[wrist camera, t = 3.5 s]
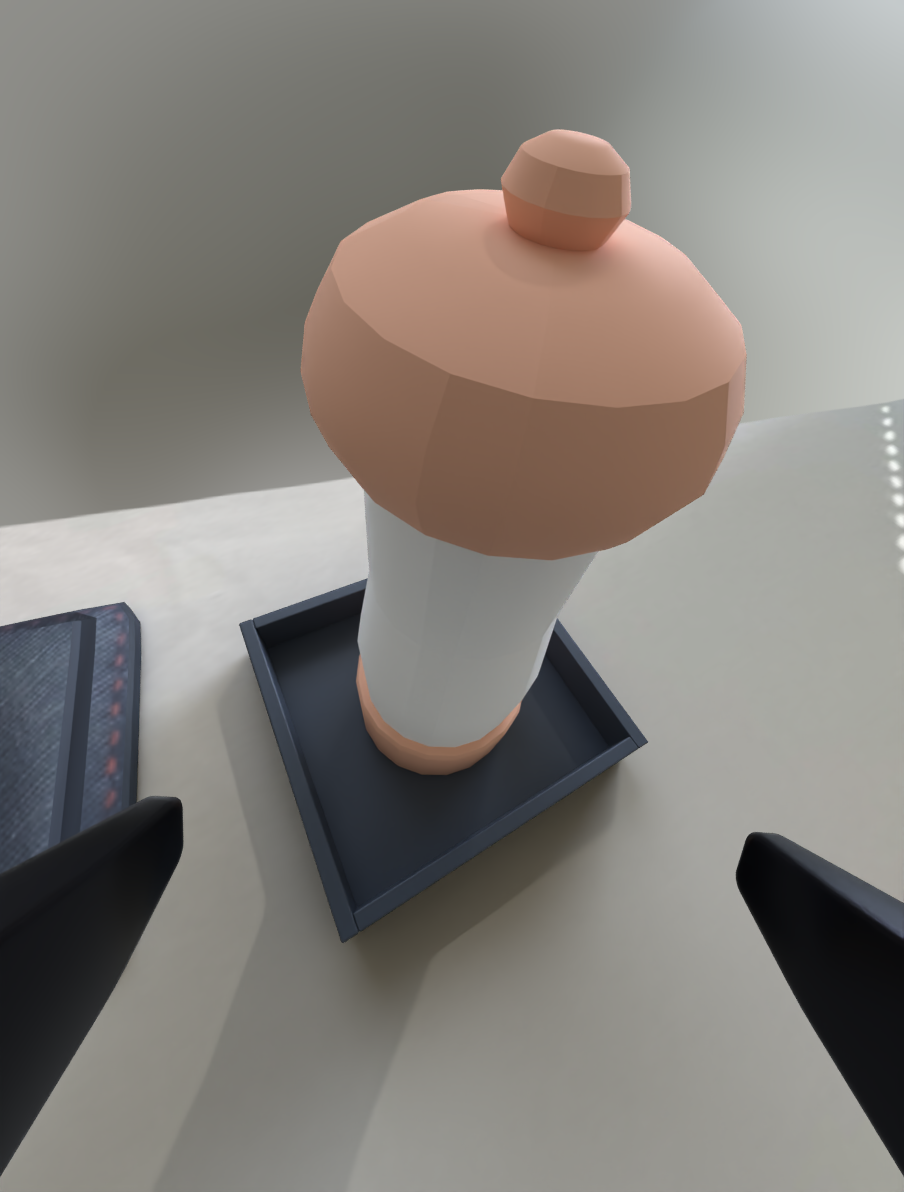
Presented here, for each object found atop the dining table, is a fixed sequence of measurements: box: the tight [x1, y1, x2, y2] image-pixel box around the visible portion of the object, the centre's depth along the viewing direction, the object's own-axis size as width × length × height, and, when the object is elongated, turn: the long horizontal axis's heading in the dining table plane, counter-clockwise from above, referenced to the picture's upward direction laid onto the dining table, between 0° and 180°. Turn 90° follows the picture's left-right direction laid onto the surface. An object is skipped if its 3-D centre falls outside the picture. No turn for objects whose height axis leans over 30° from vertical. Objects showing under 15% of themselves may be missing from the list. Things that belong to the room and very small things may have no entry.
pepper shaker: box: [301, 130, 747, 775], centre depth 13 cm, size 7×7×19 cm
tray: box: [239, 578, 648, 943], centre depth 20 cm, size 14×13×3 cm
